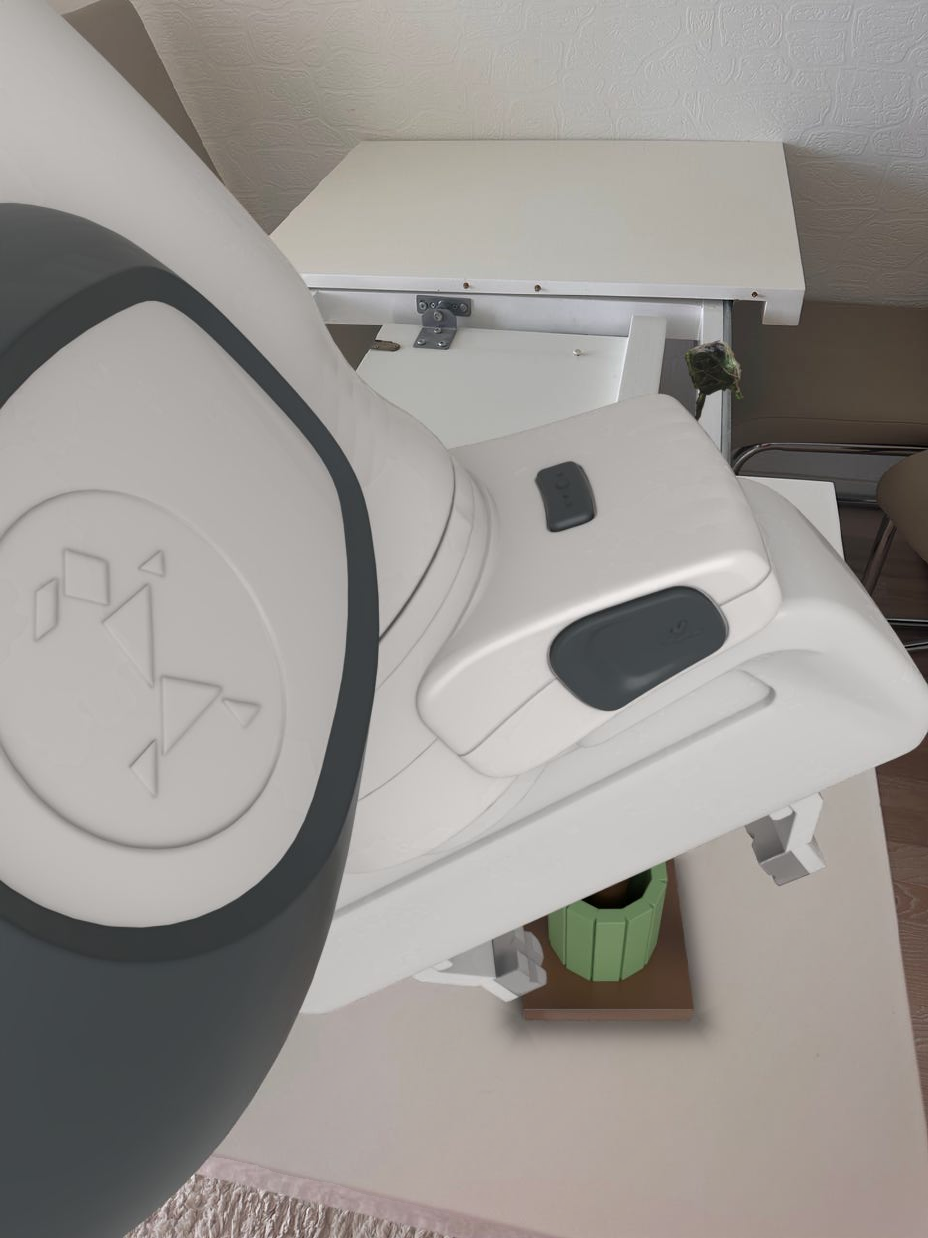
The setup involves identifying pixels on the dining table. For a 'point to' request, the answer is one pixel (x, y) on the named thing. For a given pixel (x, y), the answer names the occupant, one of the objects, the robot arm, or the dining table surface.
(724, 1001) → the dining table surface
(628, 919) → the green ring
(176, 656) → the robot arm
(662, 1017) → the peg stand
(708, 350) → the plant with pod
